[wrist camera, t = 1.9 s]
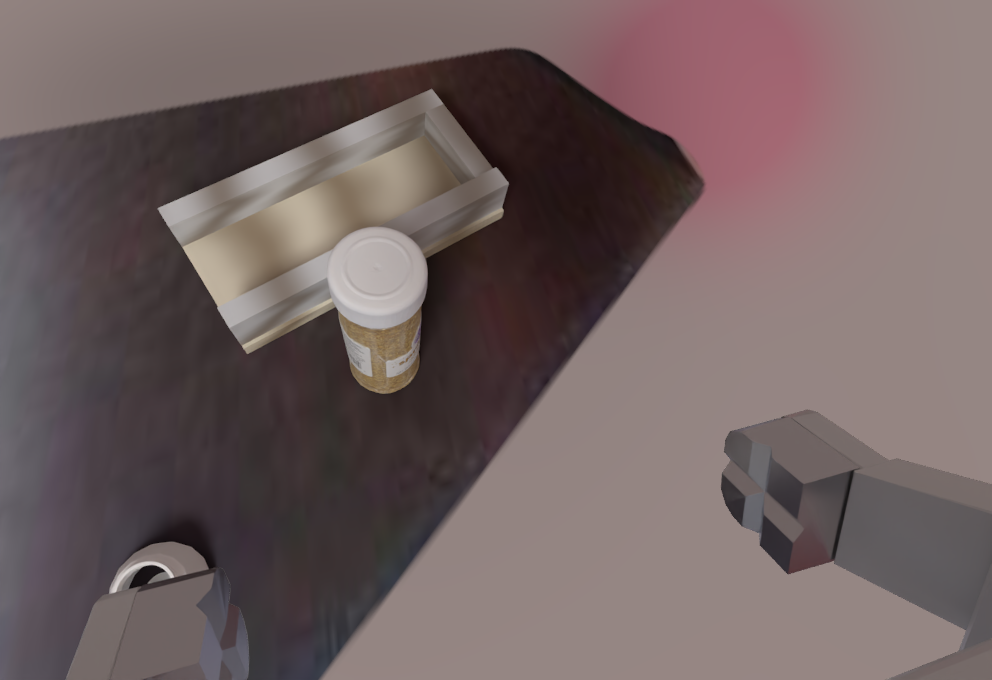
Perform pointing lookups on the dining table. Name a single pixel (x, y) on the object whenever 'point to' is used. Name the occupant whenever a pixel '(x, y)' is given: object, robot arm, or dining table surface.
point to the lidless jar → (159, 563)
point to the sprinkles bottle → (379, 304)
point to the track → (332, 212)
